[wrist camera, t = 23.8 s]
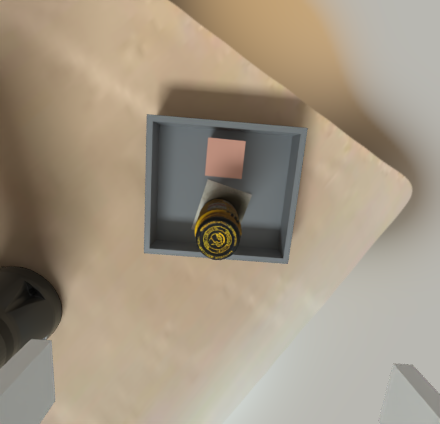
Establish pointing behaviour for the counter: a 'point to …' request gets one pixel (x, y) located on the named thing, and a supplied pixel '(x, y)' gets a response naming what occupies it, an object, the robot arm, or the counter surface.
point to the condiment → (220, 220)
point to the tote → (196, 181)
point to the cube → (225, 158)
